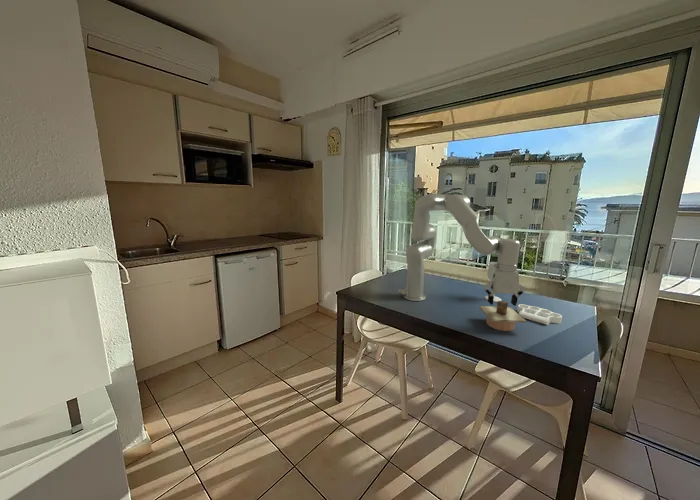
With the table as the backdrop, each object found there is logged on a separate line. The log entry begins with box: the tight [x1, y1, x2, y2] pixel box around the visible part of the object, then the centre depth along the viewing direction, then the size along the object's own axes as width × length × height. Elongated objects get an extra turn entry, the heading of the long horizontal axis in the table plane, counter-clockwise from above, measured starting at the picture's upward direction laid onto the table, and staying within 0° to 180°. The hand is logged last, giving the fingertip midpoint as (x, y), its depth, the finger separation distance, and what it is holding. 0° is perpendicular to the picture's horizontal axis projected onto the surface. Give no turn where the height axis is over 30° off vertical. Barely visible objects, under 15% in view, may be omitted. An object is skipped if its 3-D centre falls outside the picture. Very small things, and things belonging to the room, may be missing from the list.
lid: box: [479, 300, 527, 323], centre depth 120 cm, size 14×14×6 cm
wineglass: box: [484, 261, 503, 303], centre depth 149 cm, size 9×9×21 cm
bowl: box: [486, 316, 516, 332], centre depth 121 cm, size 11×11×5 cm
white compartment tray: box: [516, 303, 563, 326], centre depth 128 cm, size 3×18×15 cm
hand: (501, 304), depth 119 cm, fingers open, 9 cm apart
